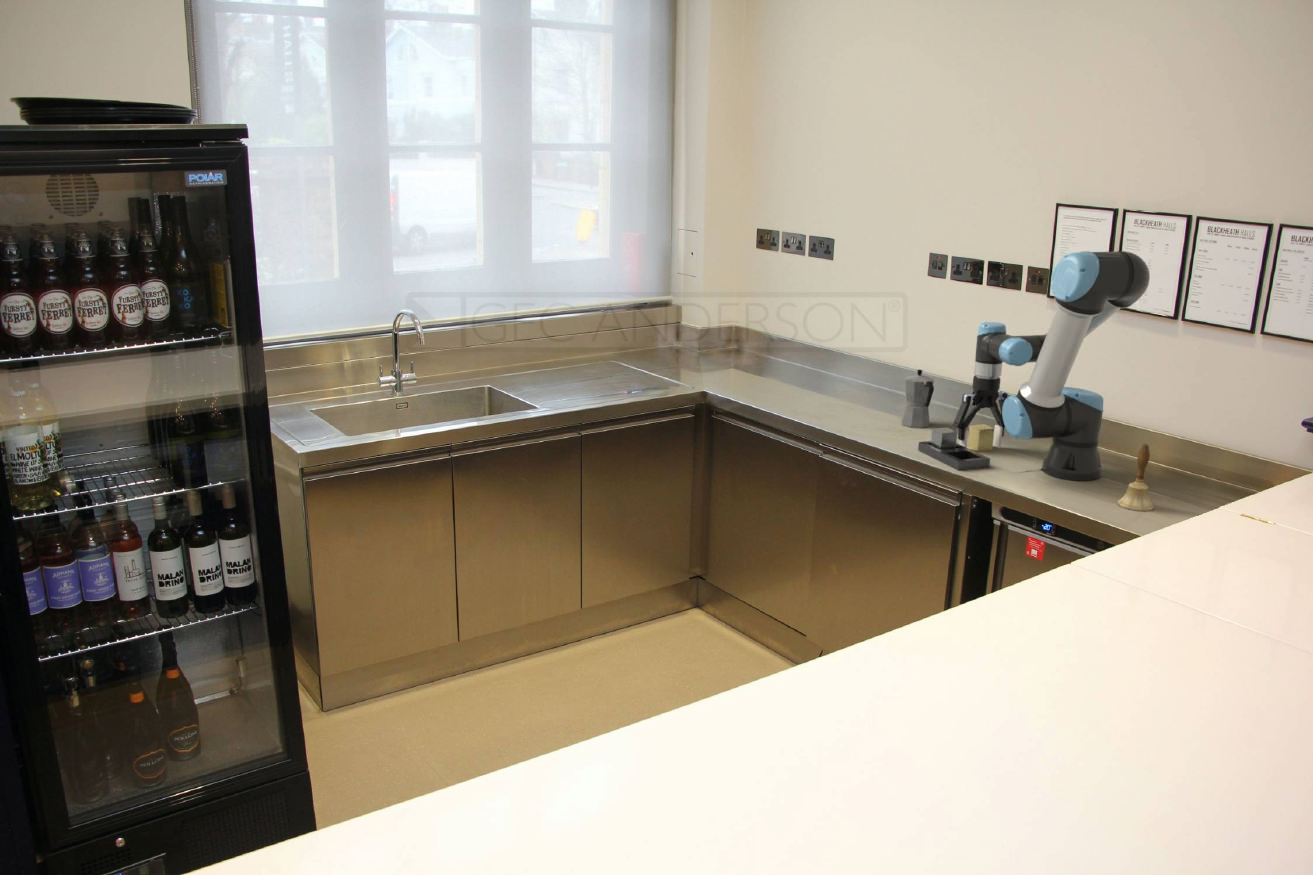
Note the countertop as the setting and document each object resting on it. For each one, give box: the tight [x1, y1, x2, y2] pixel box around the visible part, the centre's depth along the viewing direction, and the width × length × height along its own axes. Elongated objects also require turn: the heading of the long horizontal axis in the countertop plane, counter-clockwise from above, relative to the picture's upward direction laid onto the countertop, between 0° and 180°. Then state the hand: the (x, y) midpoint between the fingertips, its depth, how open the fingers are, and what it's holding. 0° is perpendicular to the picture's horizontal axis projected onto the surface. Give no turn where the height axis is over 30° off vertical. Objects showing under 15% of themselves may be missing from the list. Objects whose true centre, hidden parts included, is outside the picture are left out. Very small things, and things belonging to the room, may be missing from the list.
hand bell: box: [1116, 443, 1154, 512], centre depth 250 cm, size 8×8×16 cm
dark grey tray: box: [917, 440, 991, 471], centre depth 287 cm, size 20×10×3 cm, turn 18°
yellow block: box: [967, 423, 995, 452], centre depth 297 cm, size 5×5×7 cm
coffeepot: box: [901, 369, 935, 429], centre depth 321 cm, size 15×9×18 cm, turn 14°
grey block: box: [930, 427, 958, 450], centre depth 291 cm, size 5×5×7 cm
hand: (979, 448), depth 298 cm, fingers open, 11 cm apart
